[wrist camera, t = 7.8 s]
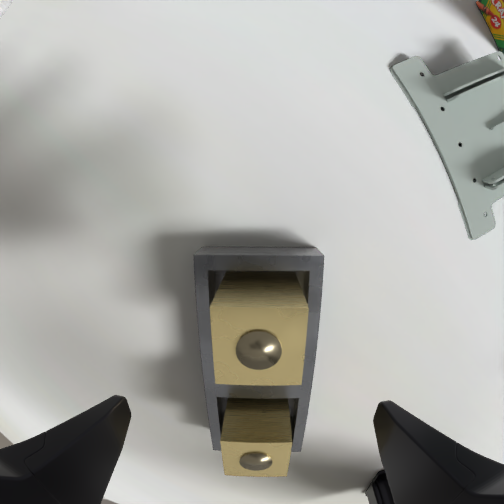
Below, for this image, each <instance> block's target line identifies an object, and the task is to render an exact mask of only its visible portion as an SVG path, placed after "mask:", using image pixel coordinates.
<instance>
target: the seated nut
mask: <svg viewBox="0 0 504 504" xmlns="http://www.w3.org/2000/svg"><path fill="white" fill-rule="evenodd" d="M220 444H221V451H222V459H223V466H224V473H225V475H231V476H253V477H279V476H287V472H288V466H289V460H290V454H291V448H292V433H291V423H290V413H289V403H288V398H280V399H258V398H228V399H227V405H226V411H225V416H224V422H223V428H222V433H221V439H220Z"/></svg>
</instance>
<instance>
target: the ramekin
mask: <svg viewBox="0 0 504 504" xmlns="http://www.w3.org/2000/svg"><path fill="white" fill-rule="evenodd" d="M12 1H13V0H0V19H1V17H2V16H3V15H4V13H5V12H6V11H7V9H8V8H9V6H10V4H11V3H12Z"/></svg>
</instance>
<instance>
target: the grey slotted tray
mask: <svg viewBox="0 0 504 504" xmlns="http://www.w3.org/2000/svg"><path fill="white" fill-rule="evenodd" d="M323 268H324V255H323V254H322V253H321V252H320V251H319V250H318V249H317V248H312V247H202V248H201V249H200V250H199V251H197V252H196V253H195V254H194V273H195V290H196V305H197V318H198V330H199V341H200V351H201V361H202V370H203V379H204V388H205V396H206V404H207V411H208V418H209V425H210V432H211V439H212V445H213V450H220V451H221V444H220V439H221V433H222V428H223V422H224V416H225V411H226V405H227V399H228V398H258V399H280V398H288V403H289V413H290V423H291V433H292V448H291V452H299V451H301V447H302V442H303V437H304V431H305V426H306V420H307V414H308V408H309V401H310V395H311V388H312V381H313V373H314V366H315V358H316V349H317V340H318V331H319V320H320V309H321V297H322V284H323ZM226 272H295V274H296V276H297V279H298V281H299V284H300V286H301V289H302V292H303V294H304V297H305V299H306V302H307V304H308V307H309V311H308V324H307V336H306V347H305V357H304V366H303V376H302V384H301V385H278V386H262V385H228V384H215V374H214V362H213V349H212V335H211V319H210V305H211V303H212V301H213V299H214V297H215V294H216V292H217V290H218V288H219V286H220V284H221V282H222V280H223V277H224V275H225V273H226Z"/></svg>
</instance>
